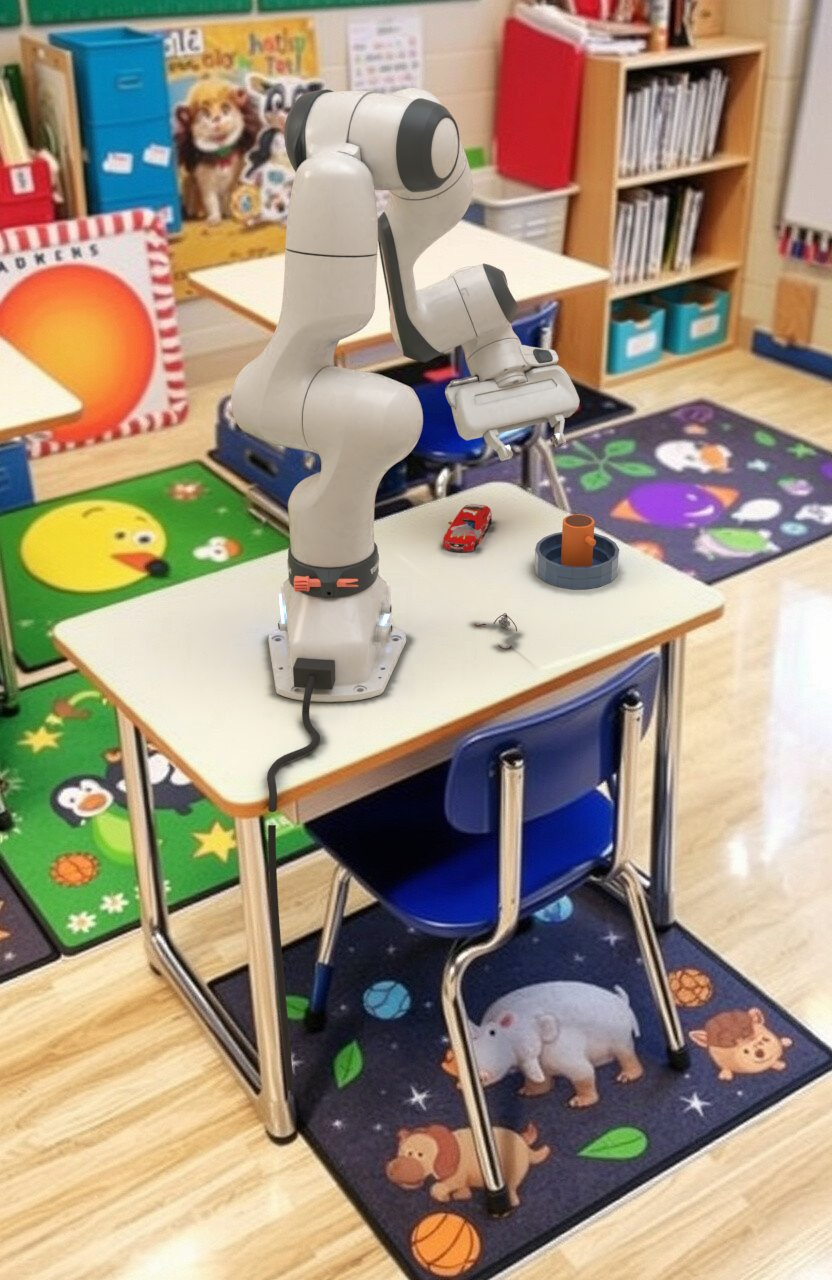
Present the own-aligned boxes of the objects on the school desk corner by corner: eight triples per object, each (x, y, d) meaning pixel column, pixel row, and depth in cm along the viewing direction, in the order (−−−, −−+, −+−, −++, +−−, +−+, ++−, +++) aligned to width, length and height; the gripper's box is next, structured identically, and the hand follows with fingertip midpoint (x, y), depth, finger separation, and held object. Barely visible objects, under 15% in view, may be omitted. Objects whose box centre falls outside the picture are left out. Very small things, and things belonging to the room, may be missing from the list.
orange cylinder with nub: (554, 567, 208) (556, 518, 203) (580, 559, 209) (582, 511, 205) (578, 583, 203) (580, 534, 199) (604, 576, 205) (606, 526, 201)
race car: (472, 559, 212) (472, 535, 210) (438, 554, 213) (438, 530, 211) (497, 522, 222) (497, 499, 220) (464, 518, 224) (464, 495, 222)
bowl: (622, 592, 202) (623, 568, 200) (536, 593, 202) (537, 568, 200) (614, 554, 212) (615, 530, 210) (532, 554, 213) (533, 531, 210)
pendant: (528, 641, 190) (529, 624, 189) (503, 651, 188) (503, 634, 187) (492, 618, 196) (492, 601, 194) (467, 627, 194) (467, 610, 192)
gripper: (448, 372, 204) (482, 457, 201) (564, 348, 212) (598, 429, 210) (433, 392, 210) (466, 475, 207) (547, 368, 218) (580, 447, 216)
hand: (534, 452), depth 209 cm, fingers open, 8 cm apart
